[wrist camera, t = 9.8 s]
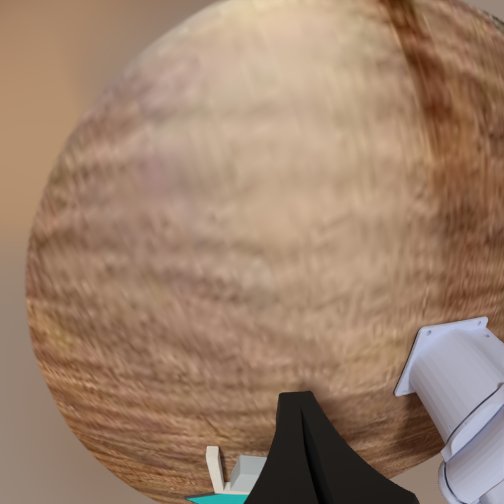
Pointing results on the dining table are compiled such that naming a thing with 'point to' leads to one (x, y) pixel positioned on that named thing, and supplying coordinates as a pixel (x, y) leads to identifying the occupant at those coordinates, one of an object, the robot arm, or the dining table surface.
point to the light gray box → (246, 473)
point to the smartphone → (217, 498)
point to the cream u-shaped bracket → (218, 472)
